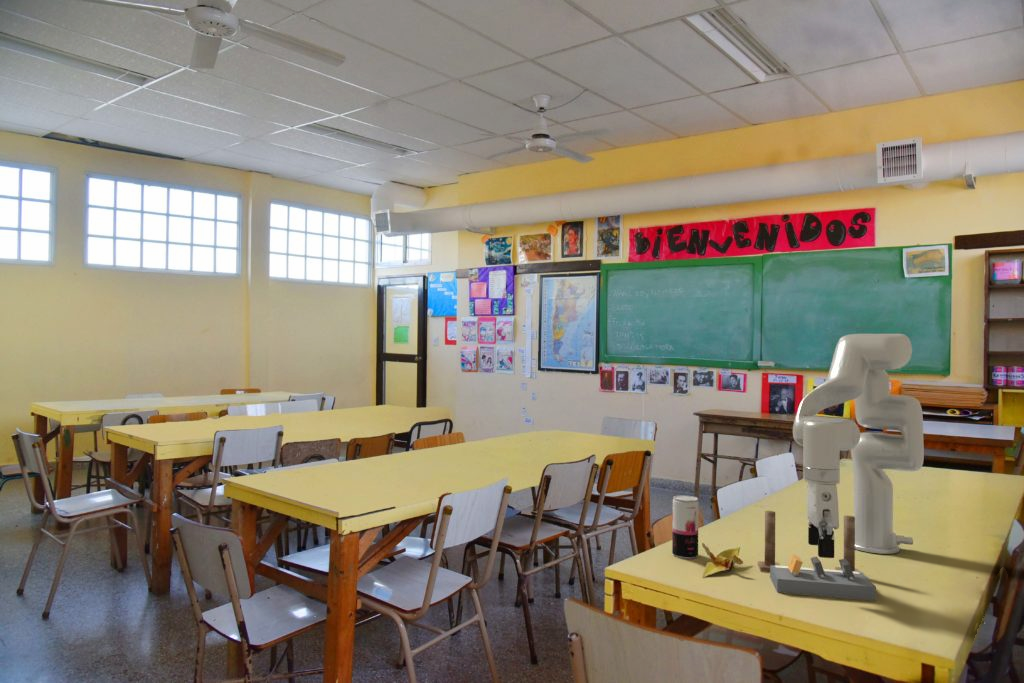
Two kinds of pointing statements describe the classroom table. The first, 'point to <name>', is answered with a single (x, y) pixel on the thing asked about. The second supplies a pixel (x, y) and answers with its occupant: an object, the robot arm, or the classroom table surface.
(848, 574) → the toggle
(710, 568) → the origami crane
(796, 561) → the toggle
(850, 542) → the post right
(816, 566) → the toggle
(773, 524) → the post left
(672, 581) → the classroom table surface
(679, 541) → the beverage can
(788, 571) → the panel
